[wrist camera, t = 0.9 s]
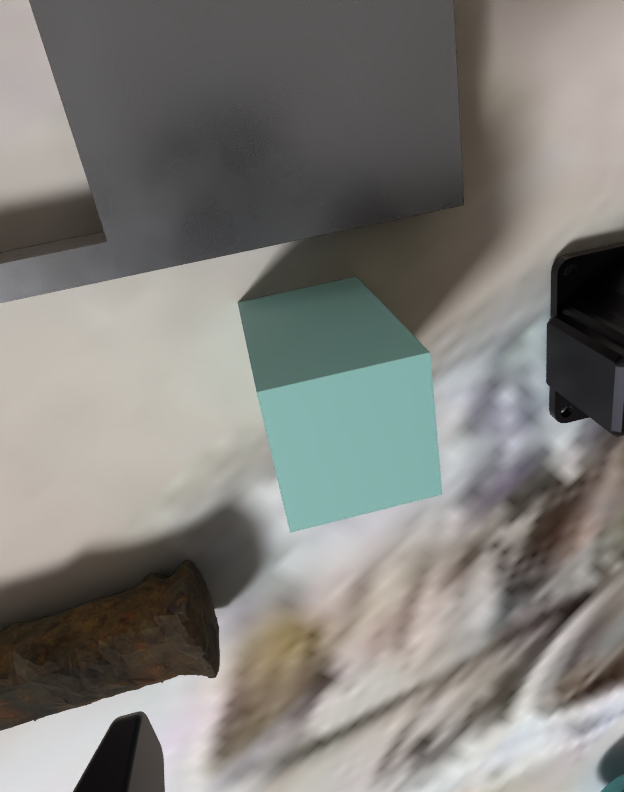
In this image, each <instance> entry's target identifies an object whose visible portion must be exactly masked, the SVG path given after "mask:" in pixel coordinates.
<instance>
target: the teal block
mask: <svg viewBox="0 0 624 792" xmlns="http://www.w3.org/2000/svg"><path fill="white" fill-rule="evenodd" d="M238 306H239V311H240V316H241V320H242V325H243V330H244V334H245V339H246V344H247V349H248V353H249V358H250V363H251V367H252V372H253V377H254V382H255V386H256V391H257V395H258V400H259V404H260V408H261V412H262V416H263V420H264V425H265V429H266V433H267V437H268V441H269V446H270V450H271V454H272V458H273V462H274V467H275V471H276V475H277V479H278V483H279V488H280V492H281V496H282V500H283V504H284V509H285V513H286V517H287V521H288V525H289V530H290V532H294V531H298V530H302V529H306V528H310V527H314V526H318V525H322V524H326V523H330V522H334V521H338V520H342V519H346V518H350V517H354V516H358V515H362V514H366V513H370V512H374V511H378V510H382V509H386V508H390V507H394V506H398V505H402V504H406V503H410V502H414V501H418V500H422V499H426V498H430V497H434V496H438V495H442V487H441V475H440V464H439V452H438V440H437V429H436V417H435V405H434V394H433V382H432V370H431V359H430V352H429V351H428V350H427V349H426V348H425V347H424V346H423V345H422V344H421V343H420V342H419V341H418V339H417V338H416V337H415V336H414V335H413V334H412V333H411V332H410V331H409V330H408V329H407V328H406V327H405V326H404V325H403V324H402V323H401V322H400V321H399V320H398V319H397V318H396V317H395V316H394V315H393V314H392V313H391V312H390V311H389V310H388V309H387V308H386V307H385V306H384V305H383V304H382V302H381V301H380V300H379V299H378V298H377V297H376V296H375V295H374V294H373V293H372V292H371V291H370V290H369V289H368V288H367V287H366V286H365V285H364V284H363V283H362V282H361V281H360V280H359V279H358V278H357V277H352V278H347V279H343V280H338V281H333V282H329V283H324V284H320V285H315V286H311V287H306V288H301V289H297V290H292V291H288V292H283V293H279V294H274V295H269V296H265V297H260V298H256V299H251V300H246V301H242V302H238Z"/></svg>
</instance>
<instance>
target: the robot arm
mask: <svg viewBox="0 0 624 792" xmlns="http://www.w3.org/2000/svg"><path fill="white" fill-rule="evenodd" d="M569 265H571V267H572V268H571V272H570V273H569V274H568V275H566V276H565V275H564V272H565V269H566V268H567V267H568V266H569ZM546 382H547V384H548V385H549V386H550V392H549V411H550V415H551V416H552V417H553V418H554V419H556V420H557V421H558V422H560V423H568V422H572V421H576V420H580V419H584V418H589V417H590V418H592V419H593V420H594V421H595V422H597V423H598V424H599V425H601V426H602V427H603V428H605V429H606V430H607V431H608V432H610V433H611V434H613V435H614V436H616V437H620V436H624V242H621V243H616V244H612V245H607V246H603V247H598V248H594V249H589V250H585V251H580V252H576V253H571V254H567V255H564V256H561V257H559V258H558V259H557V260H556V261H555V263H554V264H553V266H552V270H551V318H550V319H549V321H548V323H547V366H546ZM566 406H567V409H566V410H565V411H564V412H562V413H561V410H562V409H563V408H564V407H566ZM73 792H165V785H164V759H163V752H162V748H161V745H160V742H159V740H158V738H157V736H156V734H155V732H154V730H153V728H152V726H151V723H150V721H149V719H148V717H147V716H146V714H145V713H144V712H135V713H131V714H128V715H124V716H120V717H118V718H116V719H115V720H114V721H113V722H112V724H111V725H110V727H109V729H108V731H107V732H106V734H105V736H104V738H103V739H102V741H101V743H100V745H99V747H98V748H97V750H96V752H95V754H94V755H93V757H92V759H91V761H90V762H89V764H88V766H87V768H86V769H85V771H84V773H83V775H82V777H81V778H80V780H79V782H78V784H77V785H76V787H75V789H74V791H73Z"/></svg>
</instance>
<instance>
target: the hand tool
mask: <svg viewBox="0 0 624 792" xmlns="http://www.w3.org/2000/svg"><path fill="white" fill-rule="evenodd" d="M219 665H220V651H219V626H218V623H217V618H216V615H215V611H214V607H213V604H212V601H211V598H210V595H209V591H208V589H207V586H206V583H205V581H204V579H203V577H202V575H201V573H200V571H199V570H198V569H197V568H196V566H195V565H194V563H193V562H191V561H188V560H186V561H185V562H183V563H182V564H181V565H180V566H179V568H178V569H177V570H176V572H175V573H174V574H173V575H172V576H170V577H166V576H163V575H159V574H154V573H150V574H149V575H147V576H146V577H145V578H144V580H143V582H142V583H141V584H139V586H137V587H135V588H133V589H131V590H128V591H125V592H122V593H119V594H116V595H113V596H110V597H106V598H102V599H98V600H95V601H91V602H88V603H86V604H83V605H81V606H78V607H76V608H73V609H70V610H68V611H65V612H62V613H59V614H55V615H52V616H49V617H46V618H42V619H38V620H35V621H32V622H26V623H18V622H13V623H12V624H11V625H10V626H8V627H7V628H6V629H4V630H1V631H0V731H1V730H4V729H8V728H11V727H14V726H17V725H20V724H23V723H26V722H29V721H32V720H34V721H36V720H37V719H39V718H43V717H45V716H48V715H52V714H55V713H59V712H62V711H65V710H69V709H72V708H78V707H80V706H84V705H87V704H91V703H93V702H95V701H98V700H101V699H103V698H108V697H112V696H115V695H117V694H120V693H124V692H126V691H131V690H136V689H140V688H142V687H144V686H146V685H152V684H155V683H159V682H162V683H163V681H165V680H168V679H171V678H173V677H176V676H178V675H198V676H199V675H203V676H207V677H208V678H215V677H216V676H217V673H218V671H219Z"/></svg>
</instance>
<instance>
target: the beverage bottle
mask: <svg viewBox="0 0 624 792" xmlns="http://www.w3.org/2000/svg"><path fill="white" fill-rule="evenodd" d="M601 792H624V773H623V774H622V775H620V776H619V777H617V778H616V779H614V780H613V781H612V782H610V783H609V784H608V785H607V786H606V787H605V788H604V789H603V790H602V791H601Z"/></svg>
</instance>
